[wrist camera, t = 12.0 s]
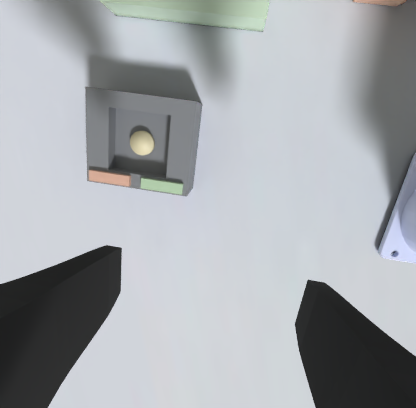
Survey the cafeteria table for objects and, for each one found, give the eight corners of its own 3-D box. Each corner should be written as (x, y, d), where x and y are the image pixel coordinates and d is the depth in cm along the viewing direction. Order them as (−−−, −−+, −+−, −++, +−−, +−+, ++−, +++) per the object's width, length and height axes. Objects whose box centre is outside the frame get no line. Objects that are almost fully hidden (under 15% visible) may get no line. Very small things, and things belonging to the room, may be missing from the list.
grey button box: (202, 104, 18) (195, 100, 15) (192, 187, 20) (185, 197, 17) (105, 91, 18) (82, 86, 15) (105, 174, 20) (84, 181, 17)
